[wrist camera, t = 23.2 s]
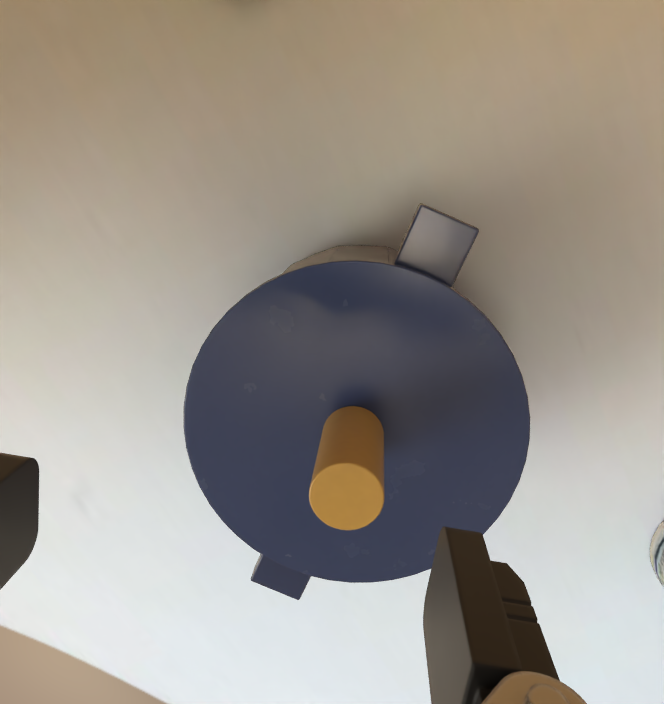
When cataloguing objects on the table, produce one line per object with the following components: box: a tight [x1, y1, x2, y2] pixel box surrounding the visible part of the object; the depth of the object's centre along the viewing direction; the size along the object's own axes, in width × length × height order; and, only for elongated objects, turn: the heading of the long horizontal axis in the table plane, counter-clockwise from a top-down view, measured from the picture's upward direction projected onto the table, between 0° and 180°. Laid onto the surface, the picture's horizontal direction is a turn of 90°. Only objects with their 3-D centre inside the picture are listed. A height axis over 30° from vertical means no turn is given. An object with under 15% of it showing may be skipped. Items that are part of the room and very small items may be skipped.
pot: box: [251, 203, 479, 600], centre depth 29 cm, size 13×18×9 cm
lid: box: [184, 259, 530, 582], centre depth 23 cm, size 14×14×6 cm
